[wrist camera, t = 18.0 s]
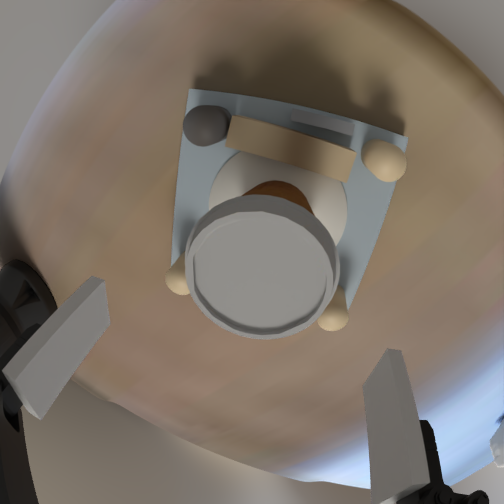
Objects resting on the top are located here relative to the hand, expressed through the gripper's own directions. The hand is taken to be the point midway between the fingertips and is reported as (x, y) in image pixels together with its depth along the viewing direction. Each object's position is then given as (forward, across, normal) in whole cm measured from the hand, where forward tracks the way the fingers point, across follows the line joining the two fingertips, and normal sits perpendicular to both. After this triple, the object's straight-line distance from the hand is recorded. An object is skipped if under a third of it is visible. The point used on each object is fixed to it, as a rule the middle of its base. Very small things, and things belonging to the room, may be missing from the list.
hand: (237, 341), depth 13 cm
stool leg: (+17, -2, +7) cm, 18 cm away
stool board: (+18, 0, 0) cm, 19 cm away
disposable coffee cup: (+17, 0, 0) cm, 17 cm away
